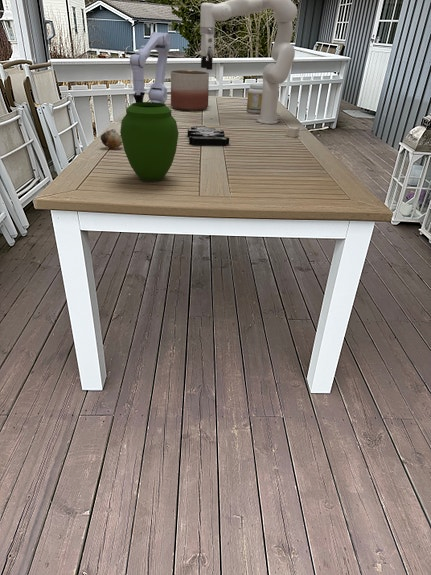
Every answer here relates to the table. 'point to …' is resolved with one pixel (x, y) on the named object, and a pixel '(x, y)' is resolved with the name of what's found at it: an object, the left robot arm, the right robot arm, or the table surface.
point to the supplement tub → (254, 98)
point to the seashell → (111, 139)
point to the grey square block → (292, 131)
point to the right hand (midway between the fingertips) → (206, 68)
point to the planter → (189, 90)
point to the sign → (207, 136)
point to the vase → (149, 139)
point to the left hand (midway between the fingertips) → (139, 107)
